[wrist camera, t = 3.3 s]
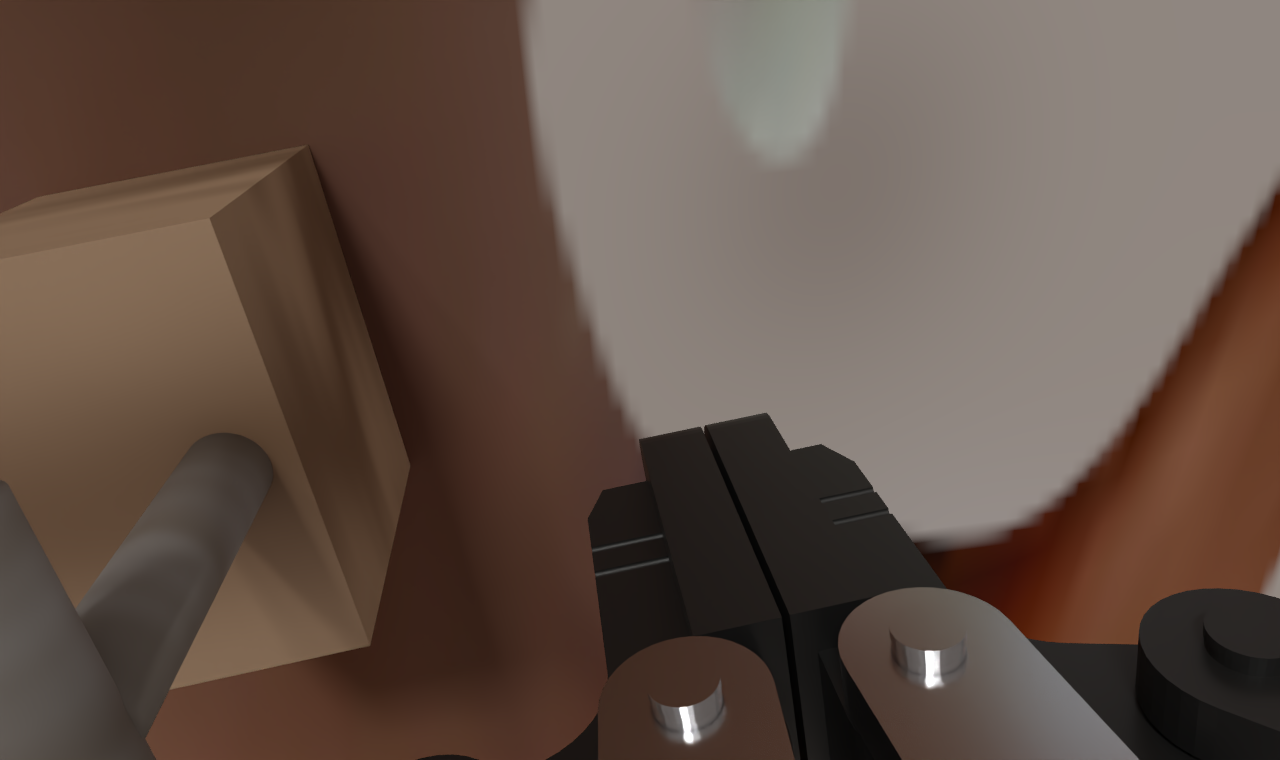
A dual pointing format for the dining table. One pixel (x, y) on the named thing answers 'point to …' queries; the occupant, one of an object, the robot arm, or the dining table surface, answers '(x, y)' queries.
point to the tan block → (181, 448)
